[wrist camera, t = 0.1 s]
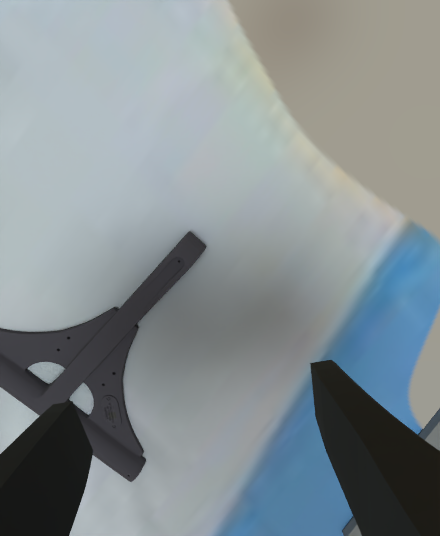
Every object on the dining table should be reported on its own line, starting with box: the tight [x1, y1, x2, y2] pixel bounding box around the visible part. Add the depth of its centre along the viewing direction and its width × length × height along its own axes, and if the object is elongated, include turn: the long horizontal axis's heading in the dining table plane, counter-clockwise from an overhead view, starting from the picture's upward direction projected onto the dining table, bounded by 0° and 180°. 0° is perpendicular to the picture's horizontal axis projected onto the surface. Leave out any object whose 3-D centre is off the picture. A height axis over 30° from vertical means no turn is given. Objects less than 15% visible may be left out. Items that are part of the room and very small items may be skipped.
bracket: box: [0, 232, 206, 482], centre depth 21 cm, size 14×15×3 cm
